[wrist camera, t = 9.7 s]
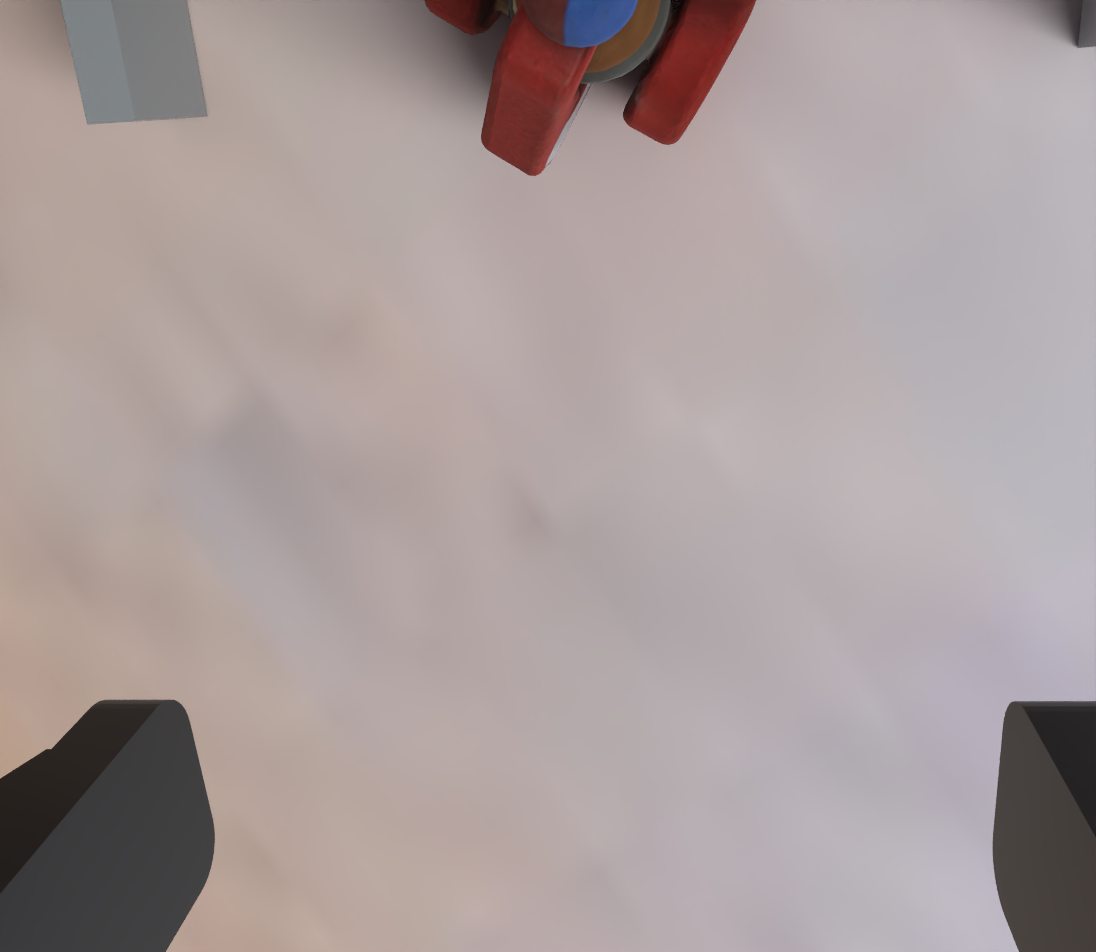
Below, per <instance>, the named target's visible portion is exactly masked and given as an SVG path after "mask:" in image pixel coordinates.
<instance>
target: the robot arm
mask: <svg viewBox="0 0 1096 952" xmlns="http://www.w3.org/2000/svg"><path fill="white" fill-rule="evenodd" d="M214 843H215V833H214V824H213V818H212V814H211V810H210V805H209V801H208V797H207V793H206V788H205V784H204V780H203V776H202V771H201V767H200V763H199V759H198V755H197V750H196V746H195V742H194V738H193V733H192V729H191V725H190V721H189V718H188V715H187V713H186V710H185V709H184V707H183V706H182V705H181V704H180V703H179V702H177V701H175V700H103V701H99V702H98V703H96V704H94V705H93V706H92V707H91V708H90V709H89V710H88V711H87V712H86V713H85V714H84V715H83V716H82V717H81V718H80V719H79V721H78V722H77V723H76V724H75V725H74V726H73V727H72V728H71V729H70V730H69V731H68V732H67V733H66V734H65V735H64V736H63V737H62V738H61V740H60V741H59V742H58V743H57V744H56V745H55V746H54V747H53V748H52V749H46V750H45V751H43V752H41V753H40V754H38V755H37V756H35V757H34V758H32V759H30V760H29V761H27V762H26V763H24V764H23V765H21V766H19V767H18V768H16V769H15V770H13V771H12V772H10V773H8V774H7V775H5V776H4V777H2V778H1V779H0V952H166V950H167V948H168V947H169V945H170V943H171V942H172V940H173V938H174V937H175V935H176V933H177V932H178V930H179V928H180V926H181V925H182V923H183V921H184V920H185V918H186V916H187V915H188V913H189V911H190V910H191V908H192V906H193V905H194V903H195V901H196V900H197V898H198V896H199V894H200V893H201V891H202V889H203V887H204V885H205V883H206V881H207V878H208V875H209V872H210V869H211V864H212V860H213V854H214ZM993 863H994V872H995V879H996V885H997V890H998V894H999V899H1000V902H1001V906H1002V909H1003V912H1004V915H1005V917H1006V920H1007V922H1008V925H1009V927H1010V930H1011V933H1012V935H1013V938H1014V940H1015V943H1016V945H1017V948H1018V950H1019V952H1096V701H1015V702H1012V703H1010V704H1009V706H1008V707H1007V710H1006V713H1005V717H1004V723H1003V733H1002V744H1001V755H1000V766H999V777H998V787H997V798H996V809H995V820H994V831H993Z"/></svg>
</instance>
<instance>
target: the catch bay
mask: <svg viewBox="0 0 1096 952" xmlns="http://www.w3.org/2000/svg"><path fill="white" fill-rule="evenodd" d="M60 2H61V6H62V11H63V16H64V20H65V25H66V29H67V34H68V38H69V43H70V48H71V52H72V57H73V61H74V66H75V70H76V75H77V80H78V84H79V89H80V93H81V98H82V102H83V107H84V112H85V116H86V121H87V124H102V123H118V122H134V121H150V120H166V119H179V118H191V117H204V116H207V111H206V106H205V100H204V95H203V89H202V83H201V78H200V72H199V67H198V61H197V55H196V50H195V44H194V39H193V33H192V28H191V22H190V16H189V11H188V5H187V0H60ZM1094 46H1096V0H1083V1H1082V11H1081V21H1080V30H1079V40H1078V48H1082V47H1094Z"/></svg>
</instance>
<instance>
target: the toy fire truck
mask: <svg viewBox="0 0 1096 952" xmlns="http://www.w3.org/2000/svg"><path fill="white" fill-rule="evenodd" d="M670 1H671V0H425V3H426V6H427V7H428V9H429V10H430V11H431V12H432V13H434V14H435V15H437V16H438V17H440V18H442V19H443V20H445V21H447V22H448V23H450V24H452V25H453V26H455V27H457V28H459V29H460V30H462V31H463V32H465V33H468V34H471V35H475V34H480V33H483V32H485V31H486V30H488V29H489V28H490V27H491V26H492V25H493V24H494V22H495V21H496V20H498V18H499V17H500V15H501V13H502V12H503V13H505V14H506V15H508V16H509V17H510V19H511V20H512V22H511V24H510V26H509V28H508V30H507V32H506V35H505V37H504V40H503V42H502V45H501V47H500V49H499V52H498V55H497V58H496V61H495V66H494V71H493V78H492V83H491V87H490V92H489V97H488V103H487V108H486V113H485V118H484V123H483V128H482V134H481V140H482V143H483V145H484V146H485V148H486V149H487V150H488V151H490V152H492V153H493V154H495V155H496V156H498V157H500V158H501V159H503V160H505V161H506V162H508V163H510V164H511V165H513V166H515V167H516V168H518V169H520V170H521V171H523V172H524V173H526V174H528V175H531V176H536V175H538V174H540V173H541V172H542V171H543V170H544V168H545V167H546V166H547V165H548V164H549V163H550V162H551V161H552V159H553V158H554V156H555V155H556V153H557V151H558V149H559V147H560V145H561V143H562V141H563V139H564V137H565V135H566V134H567V132H568V130H569V128H570V126H571V124H572V122H573V120H574V118H575V116H576V114H577V112H578V110H579V108H580V106H581V104H582V102H583V100H584V98H585V96H586V94H587V92H588V90H589V88H590V86H591V83H603V82H607V81H609V80H612V79H615V78H618V77H622V76H623V75H625V74H627V73H628V72H630V71H631V70H633V69H635V68H636V67H637V66H638V65H639V64H640V63H641V62H642V61H644V60H645V59H646V60H648V63H647V66H646V68H645V70H644V72H643V74H642V76H641V78H640V80H639V81H638V83H637V85H636V87H635V89H634V91H633V93H632V95H631V97H630V99H629V101H628V102H627V104H626V106H625V109H624V112H623V118H624V120H625V122H626V123H627V124H628V125H629V126H630V127H632V128H634V129H636V130H637V131H639V132H641V133H643V134H645V135H647V136H648V137H650V138H652V139H654V140H655V141H657V142H659V143H662V144H666V145H670V144H674V143H676V142H677V141H678V140H679V138H680V137H681V136H682V134H683V133H684V132H685V130H686V128H687V127H688V125H689V124H690V122H691V121H692V119H693V117H694V116H695V114H696V113H697V111H698V109H699V107H700V106H701V104H702V102H703V101H704V99H705V97H706V96H707V94H708V92H709V91H710V89H711V87H712V85H713V84H714V82H715V80H716V78H717V76H718V75H719V73H720V71H721V69H722V67H723V66H724V64H725V62H726V60H727V58H728V57H729V55H730V53H731V51H732V49H733V48H734V46H735V44H736V42H737V40H738V38H739V36H740V34H741V33H742V31H743V29H744V27H745V25H746V23H747V20H748V18H749V16H750V14H751V12H752V10H753V7H754V5H755V2H756V0H681V2H680V4H679V5H678V7H677V9H674V8H673V7H672V5H671V2H670Z"/></svg>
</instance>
